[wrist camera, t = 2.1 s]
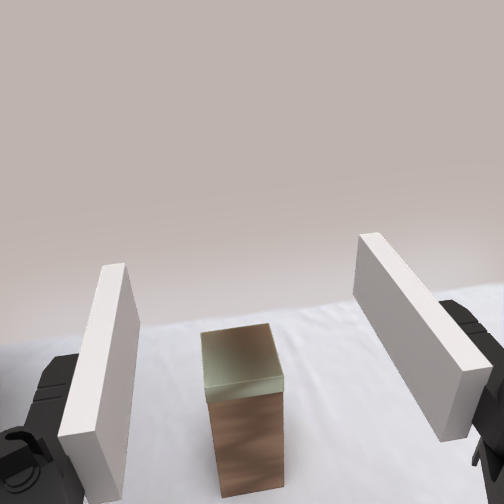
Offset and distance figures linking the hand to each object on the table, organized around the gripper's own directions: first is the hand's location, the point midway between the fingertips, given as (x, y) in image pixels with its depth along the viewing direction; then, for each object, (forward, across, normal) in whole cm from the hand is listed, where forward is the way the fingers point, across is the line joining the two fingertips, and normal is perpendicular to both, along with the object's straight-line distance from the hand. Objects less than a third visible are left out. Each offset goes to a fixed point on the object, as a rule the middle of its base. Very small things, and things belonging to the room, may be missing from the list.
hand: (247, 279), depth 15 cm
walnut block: (+8, 0, -25) cm, 26 cm away
